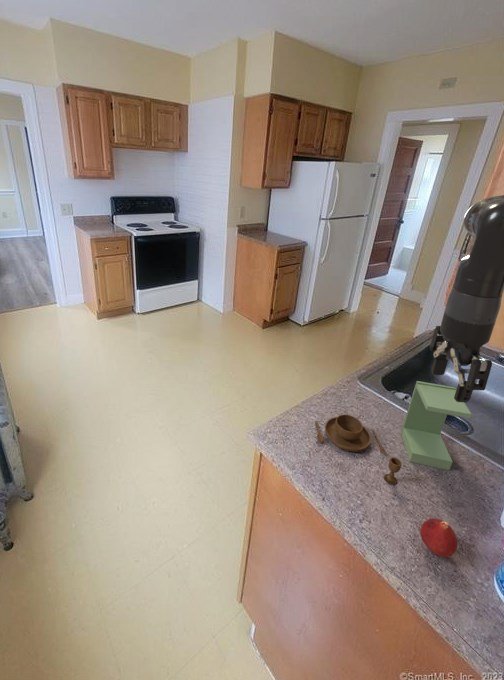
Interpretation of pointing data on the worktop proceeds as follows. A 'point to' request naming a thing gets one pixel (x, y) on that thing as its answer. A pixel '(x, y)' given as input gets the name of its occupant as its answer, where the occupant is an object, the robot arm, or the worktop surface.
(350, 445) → the place setting
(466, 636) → the worktop surface
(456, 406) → the shelf
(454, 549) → the onion
